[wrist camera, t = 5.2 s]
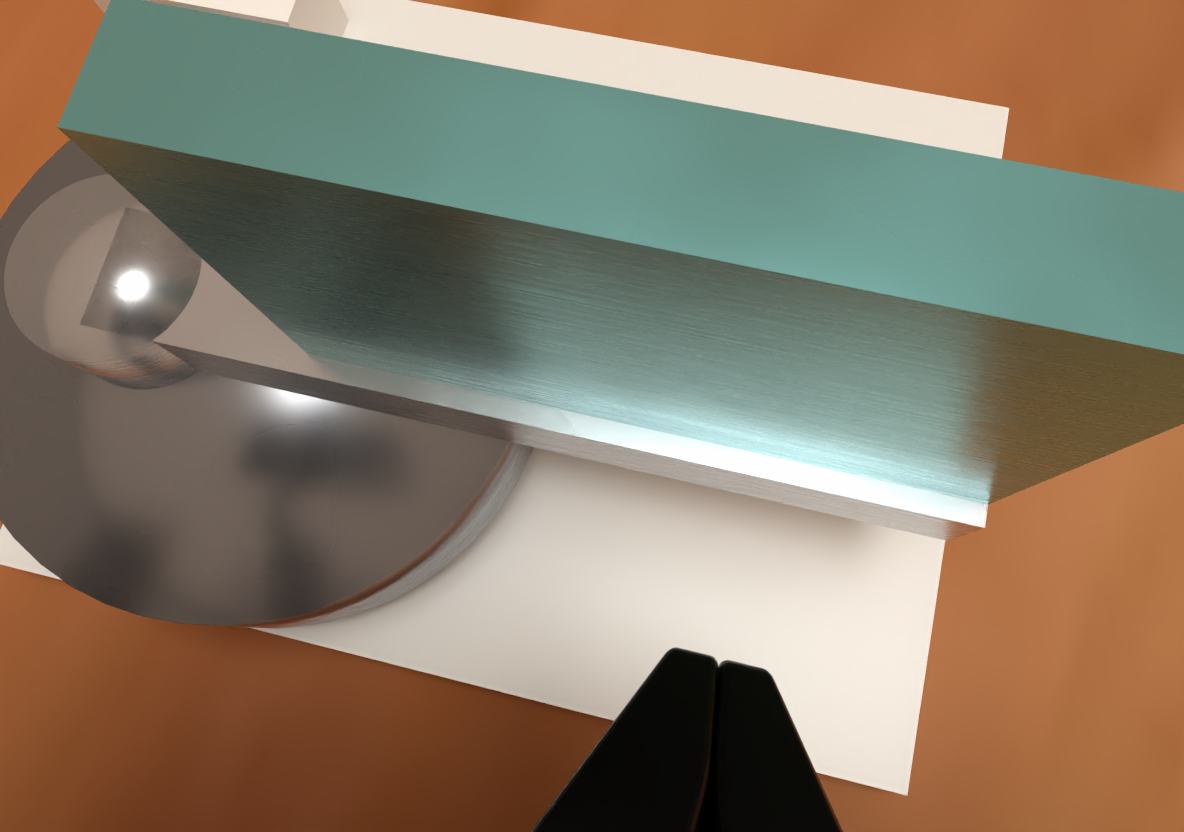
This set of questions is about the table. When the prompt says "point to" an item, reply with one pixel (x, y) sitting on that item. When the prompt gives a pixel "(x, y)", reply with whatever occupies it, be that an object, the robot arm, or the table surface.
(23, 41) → the table surface
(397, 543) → the cam foot
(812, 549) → the plate
